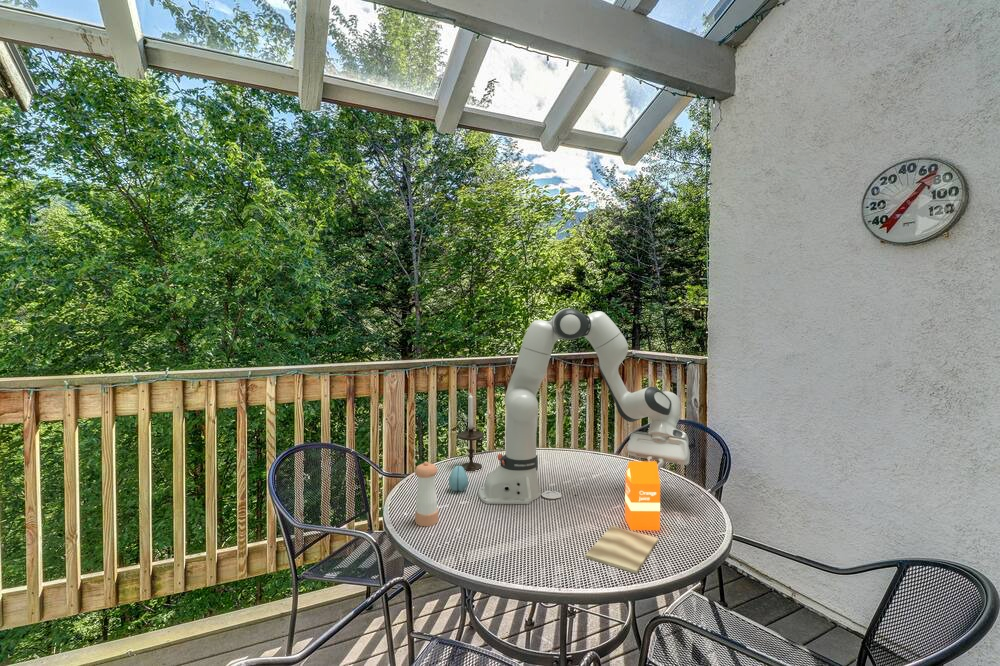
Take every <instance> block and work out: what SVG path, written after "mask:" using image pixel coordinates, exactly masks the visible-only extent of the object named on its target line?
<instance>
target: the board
mask: <svg viewBox="0 0 1000 666" xmlns="http://www.w3.org/2000/svg"><path fill="white" fill-rule="evenodd" d="M658 542H659V537H656V536H652V535H650V534H649V535H648V534H644V533H640V532H638V531H637V532H636V531H635V530H631V529H626V528H622V527H617V526H615V525H611V526H610V527H609V528H608V529H607V531H605V532H604V534H603V535H602V536H601V537H600V538H599V539H598V540H597V541H596V542H595V543H594V545H593V546H592V547H591V548H590V549H588V551H587V552H586V554H585V558H586V559H589V560H592V561H594V562H598V563H601V564H604V565H608V566H611V567H615V568H617V569H621V570H624V571H627V572H630V573H634V574H636V575H637V574H638V572H639V571H641V568H642V567H643V565H644V564H645V562H646V561H647V559H648V558H649V555H650V554H651V553H652V551H653V550H654V549H655V546H656V545H657V544H658Z"/></svg>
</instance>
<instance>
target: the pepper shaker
mask: <svg viewBox="0 0 1000 666" xmlns="http://www.w3.org/2000/svg"><path fill="white" fill-rule="evenodd" d="M414 469H415V470H414V474H415V476H416V477H417V491H416V499H415V506H416V507H415V509H416V510H415V511H414V513H415V515H414V517H415V518H414V520H415V521H414V522H416V523H415V524H416V525H417V524H418V525H420V526H419V527H423V526H427V527H432V526H435V525H437V524H438V523H439V508H438V497H437V491H436V475H437V473H438V467H437V466H436V465H435V463H432V462H428V461H424V462H423V463H420V464H418V465H417V466H416V467H415V468H414ZM437 522H438V523H437ZM436 523H437V524H436ZM434 524H435V525H434ZM418 525H417V526H418Z"/></svg>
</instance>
